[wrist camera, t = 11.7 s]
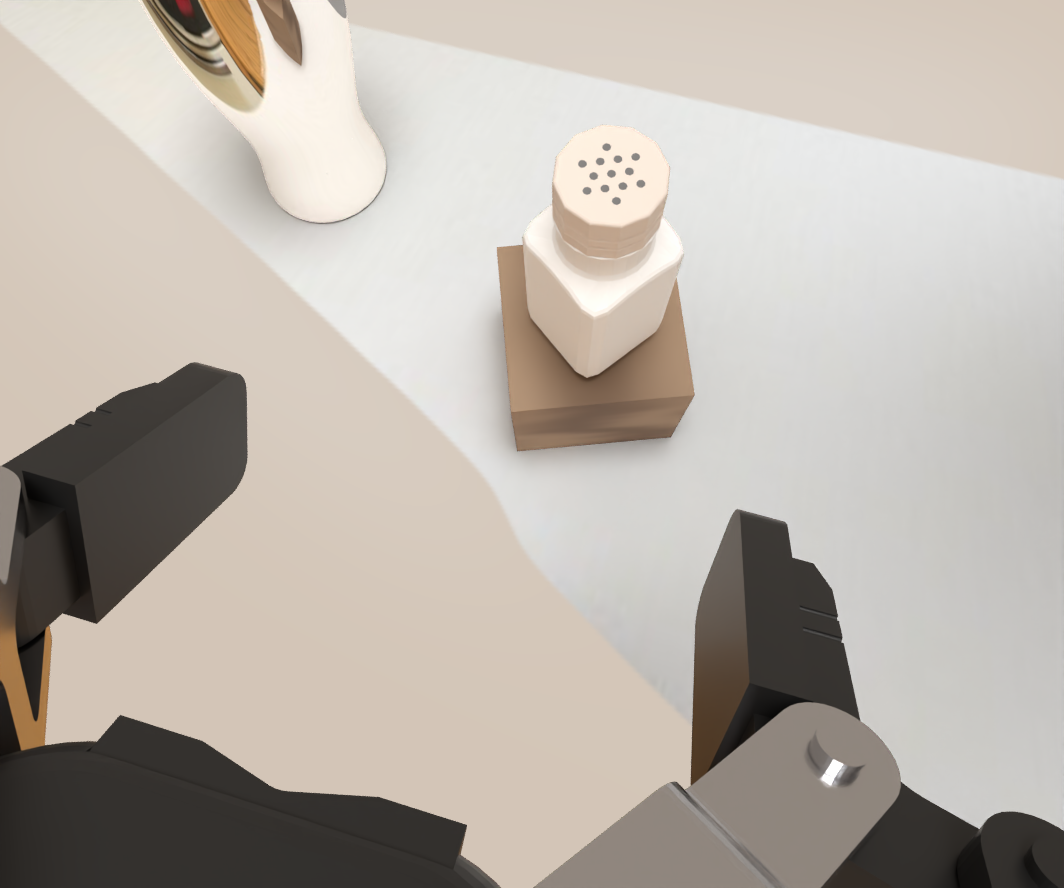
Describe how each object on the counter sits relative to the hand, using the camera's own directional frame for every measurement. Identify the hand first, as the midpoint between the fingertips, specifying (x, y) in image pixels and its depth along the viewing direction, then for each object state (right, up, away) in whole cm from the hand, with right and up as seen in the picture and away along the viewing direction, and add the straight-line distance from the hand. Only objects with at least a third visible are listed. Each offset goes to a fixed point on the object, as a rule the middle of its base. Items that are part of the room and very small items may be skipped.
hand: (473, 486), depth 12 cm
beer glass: (-9, +15, +26) cm, 32 cm away
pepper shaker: (+3, +5, +18) cm, 19 cm away
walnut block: (+3, +4, +23) cm, 24 cm away
